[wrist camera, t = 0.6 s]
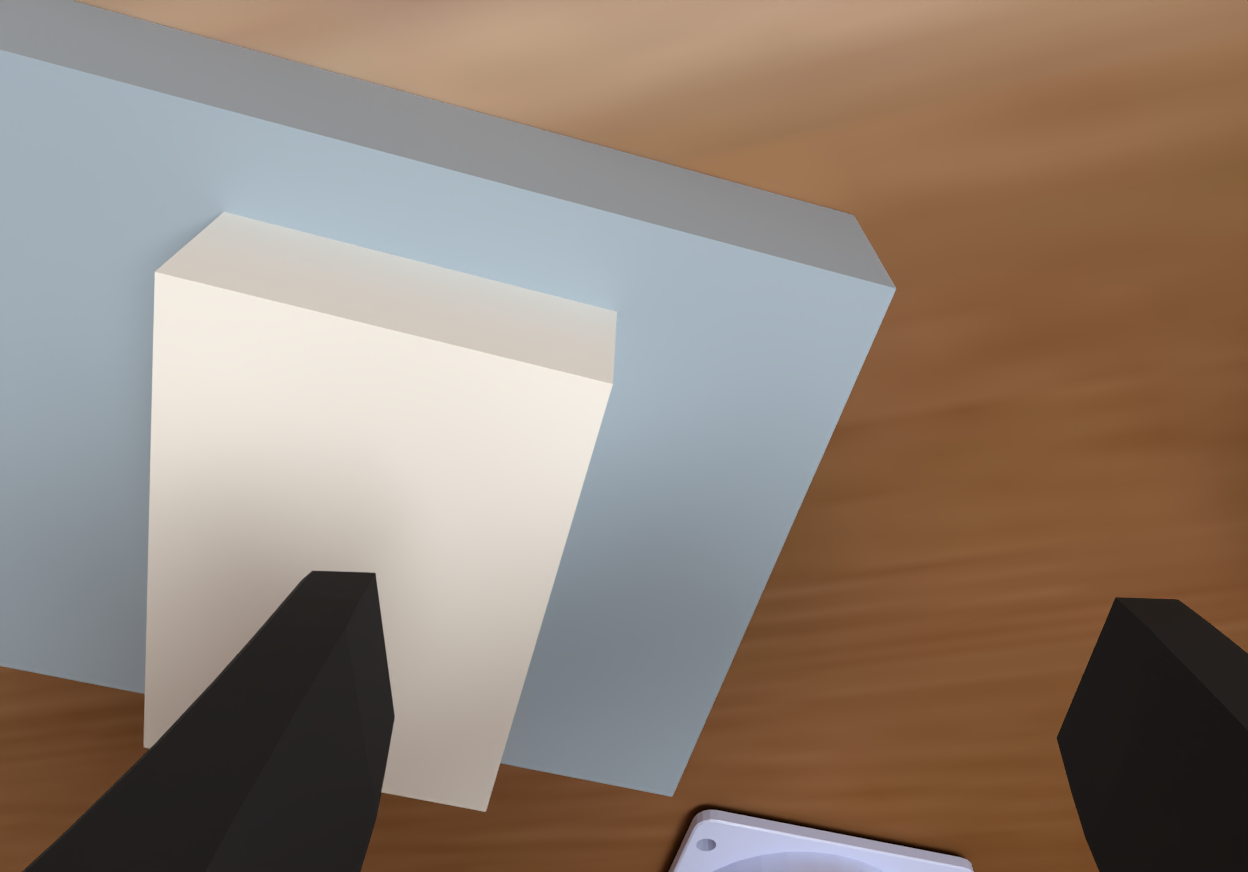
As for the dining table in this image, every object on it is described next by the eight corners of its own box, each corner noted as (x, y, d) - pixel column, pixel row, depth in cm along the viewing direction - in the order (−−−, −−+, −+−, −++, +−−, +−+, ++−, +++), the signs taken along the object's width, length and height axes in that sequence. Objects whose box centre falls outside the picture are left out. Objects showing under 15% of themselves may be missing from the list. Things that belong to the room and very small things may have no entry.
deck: (668, 677, 24) (672, 796, 21) (-64, 524, 22) (-177, 631, 19) (853, 214, 18) (896, 288, 15) (-131, -56, 16) (-311, -34, 13)
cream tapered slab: (502, 711, 20) (485, 811, 18) (197, 649, 19) (144, 747, 17) (616, 311, 15) (613, 384, 13) (223, 211, 15) (154, 271, 12)
